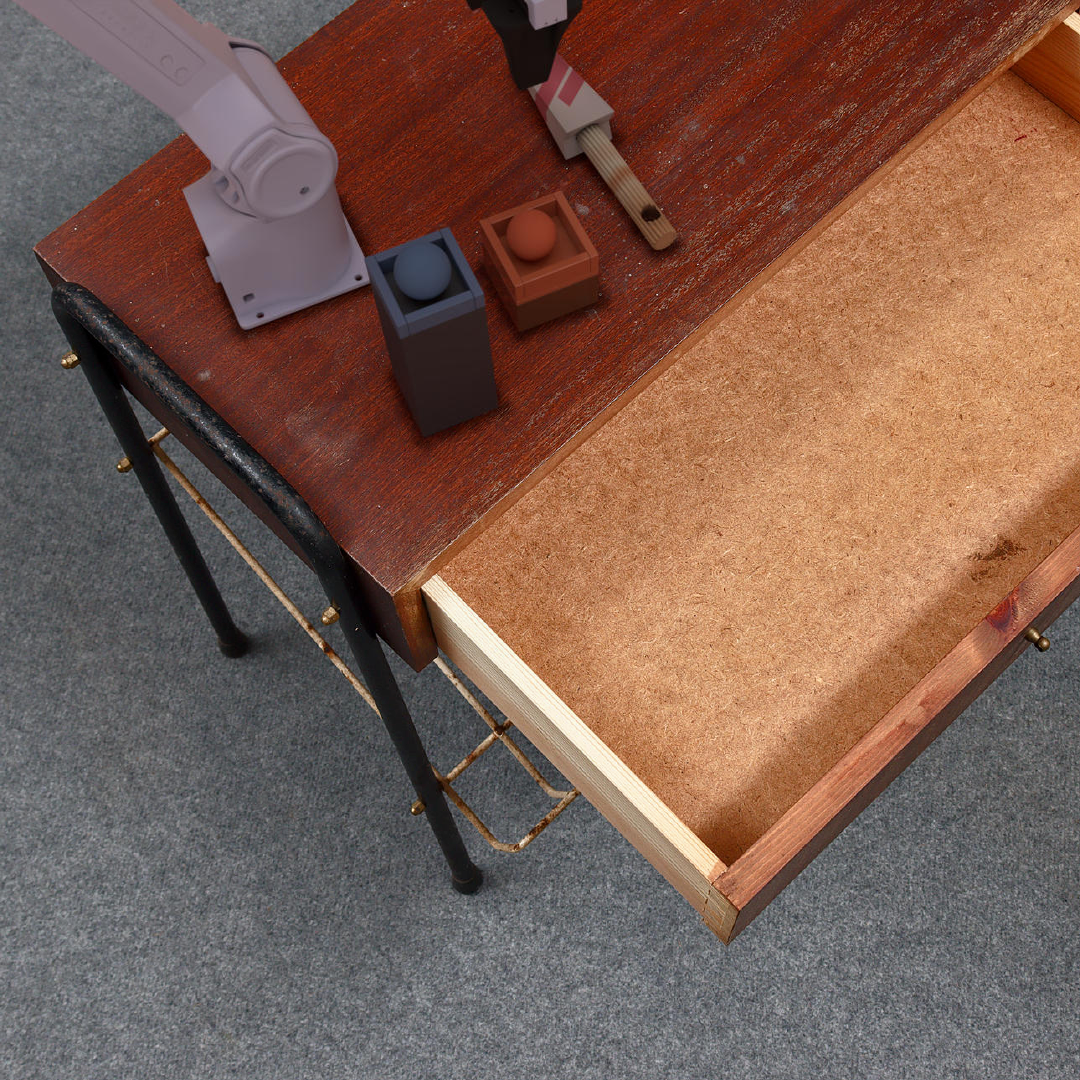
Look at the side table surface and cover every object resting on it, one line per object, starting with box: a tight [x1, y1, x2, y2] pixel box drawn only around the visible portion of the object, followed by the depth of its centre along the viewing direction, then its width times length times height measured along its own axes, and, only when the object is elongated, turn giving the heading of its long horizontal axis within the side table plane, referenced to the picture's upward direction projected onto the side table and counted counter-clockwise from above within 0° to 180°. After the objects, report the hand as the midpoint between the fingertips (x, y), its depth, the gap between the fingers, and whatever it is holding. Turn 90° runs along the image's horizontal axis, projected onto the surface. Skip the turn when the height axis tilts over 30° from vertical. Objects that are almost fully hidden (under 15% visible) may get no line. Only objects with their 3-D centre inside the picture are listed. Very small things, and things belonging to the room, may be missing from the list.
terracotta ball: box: [507, 209, 557, 261], centre depth 81 cm, size 3×3×3 cm
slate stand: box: [364, 226, 499, 439], centre depth 76 cm, size 5×5×12 cm
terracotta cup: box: [478, 190, 600, 333], centre depth 83 cm, size 6×6×5 cm
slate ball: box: [394, 242, 451, 300], centre depth 70 cm, size 3×3×3 cm
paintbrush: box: [527, 51, 678, 251], centre depth 89 cm, size 4×3×20 cm
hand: (507, 41), depth 81 cm, fingers open, 7 cm apart
